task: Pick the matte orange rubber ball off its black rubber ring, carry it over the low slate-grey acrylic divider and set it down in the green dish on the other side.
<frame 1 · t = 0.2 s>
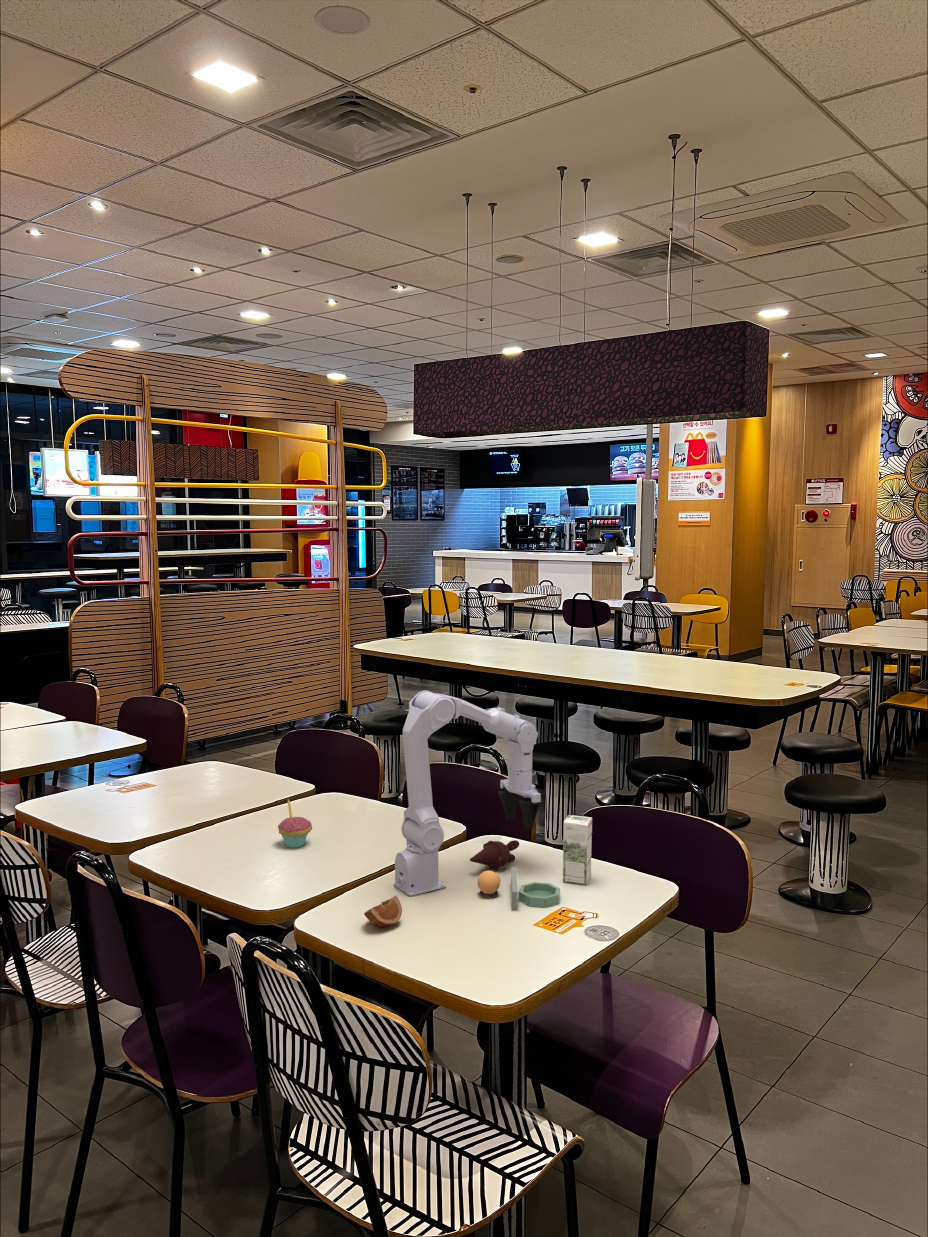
hand: (519, 824, 213), 10 cm above the table, fingers open, 7 cm apart
dish: (539, 899, 193), on the table
syrup box: (577, 880, 204), on the table
cupcake: (295, 845, 227), on the table
ring: (488, 894, 195), on the table
divider: (514, 896, 194), on the table
ball: (488, 882, 195), point 3 cm above the table, touching ring
icecream: (494, 869, 211), on the table
fruit slice: (382, 926, 180), on the table
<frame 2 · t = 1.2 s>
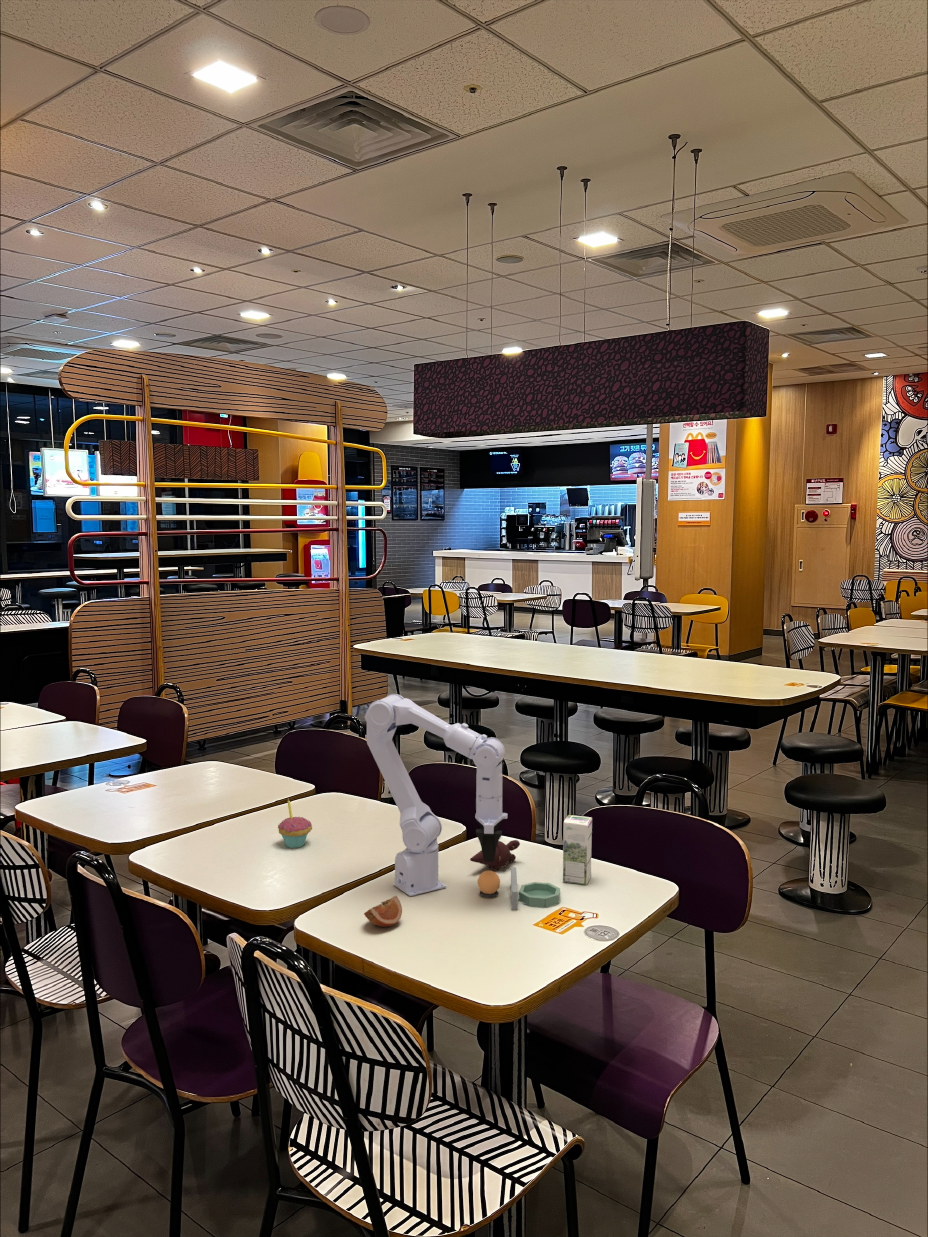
hand: (489, 855, 194), 9 cm above the table, fingers open, 7 cm apart
nothing on the table moved.
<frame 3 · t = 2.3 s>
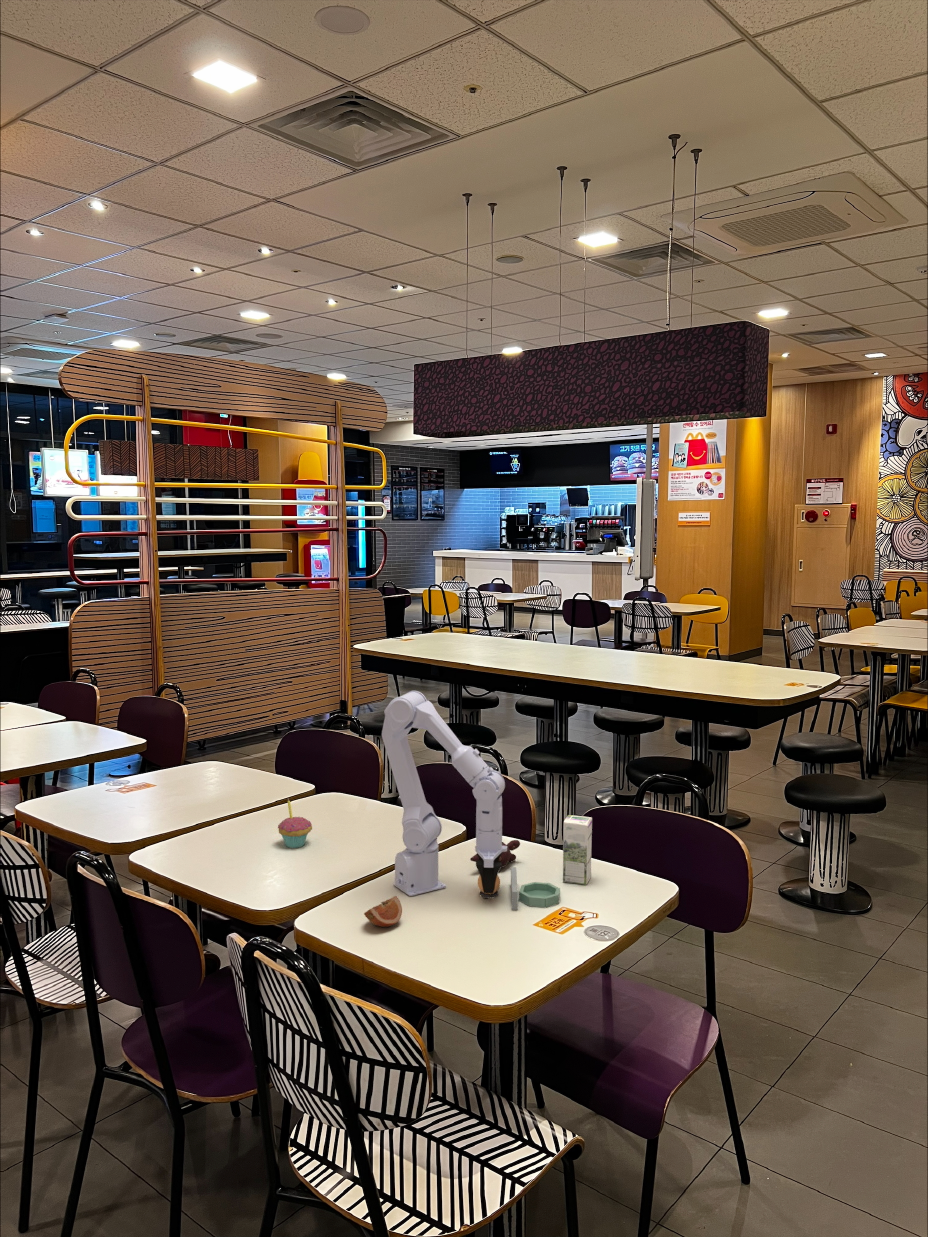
hand: (488, 887, 195), 2 cm above the table, fingers closed on ball, 5 cm apart
ball: (488, 882, 195), point 3 cm above the table, touching gripper, ring
everything else where it was.
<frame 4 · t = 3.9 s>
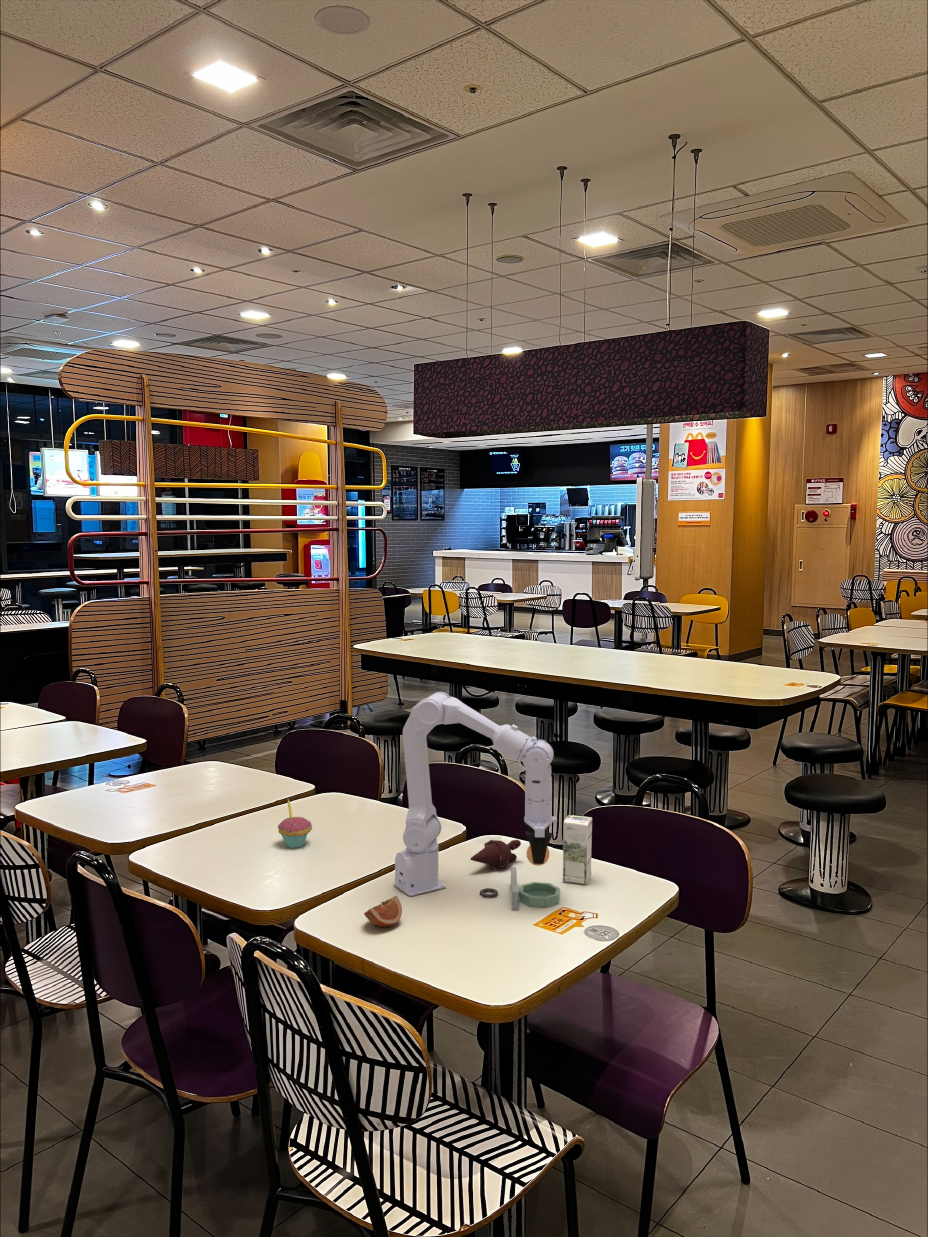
hand: (538, 858, 192), 9 cm above the table, fingers closed on ball, 5 cm apart
ball: (537, 853, 192), point 10 cm above the table, touching gripper
everything else where it was.
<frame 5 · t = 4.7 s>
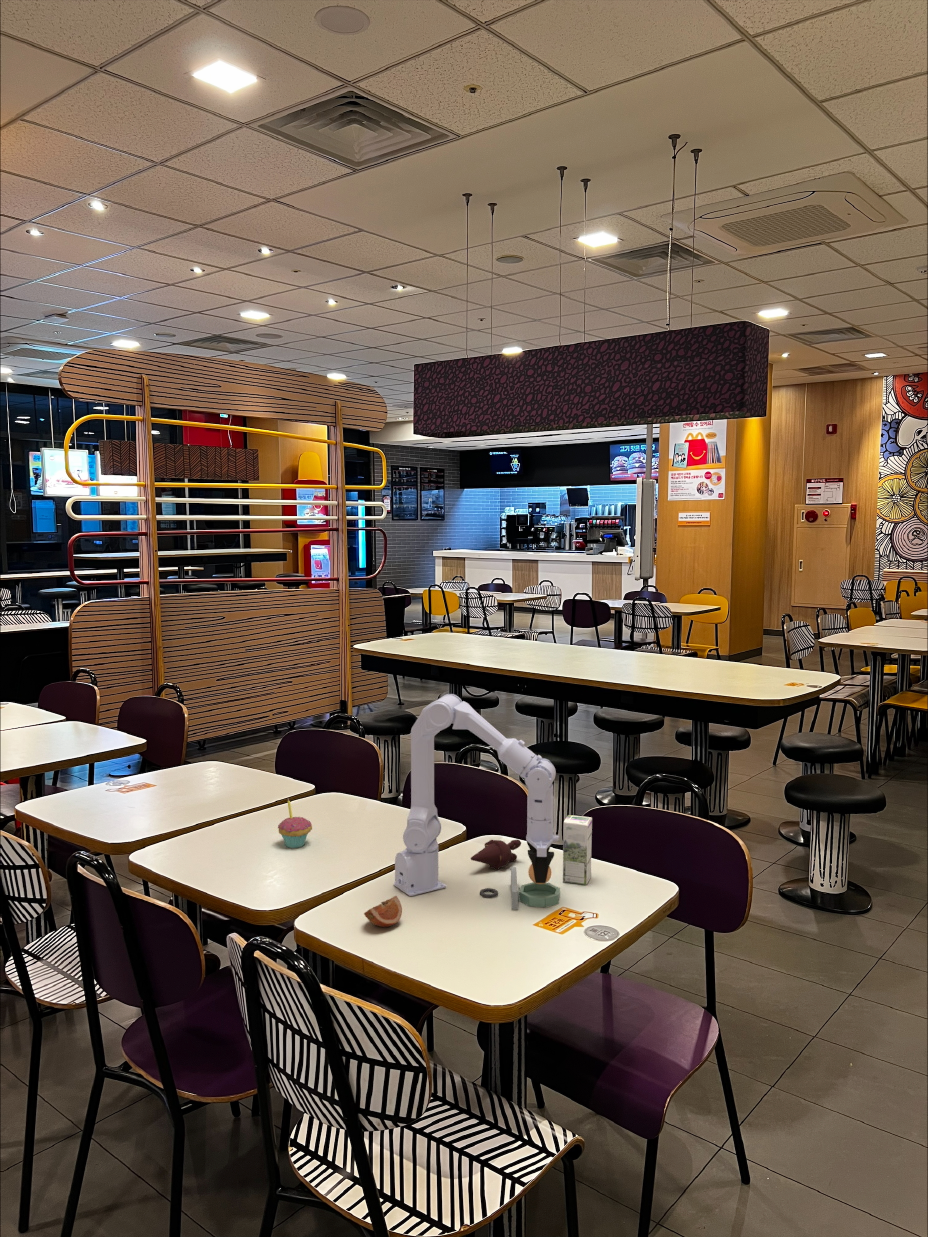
hand: (539, 877, 192), 5 cm above the table, fingers closed on ball, 5 cm apart
ball: (539, 872, 192), point 6 cm above the table, touching gripper
everything else where it was.
when the fingers open (4 cm above the table, at t = 5.5 s): ball drops 2 cm, resting on dish.
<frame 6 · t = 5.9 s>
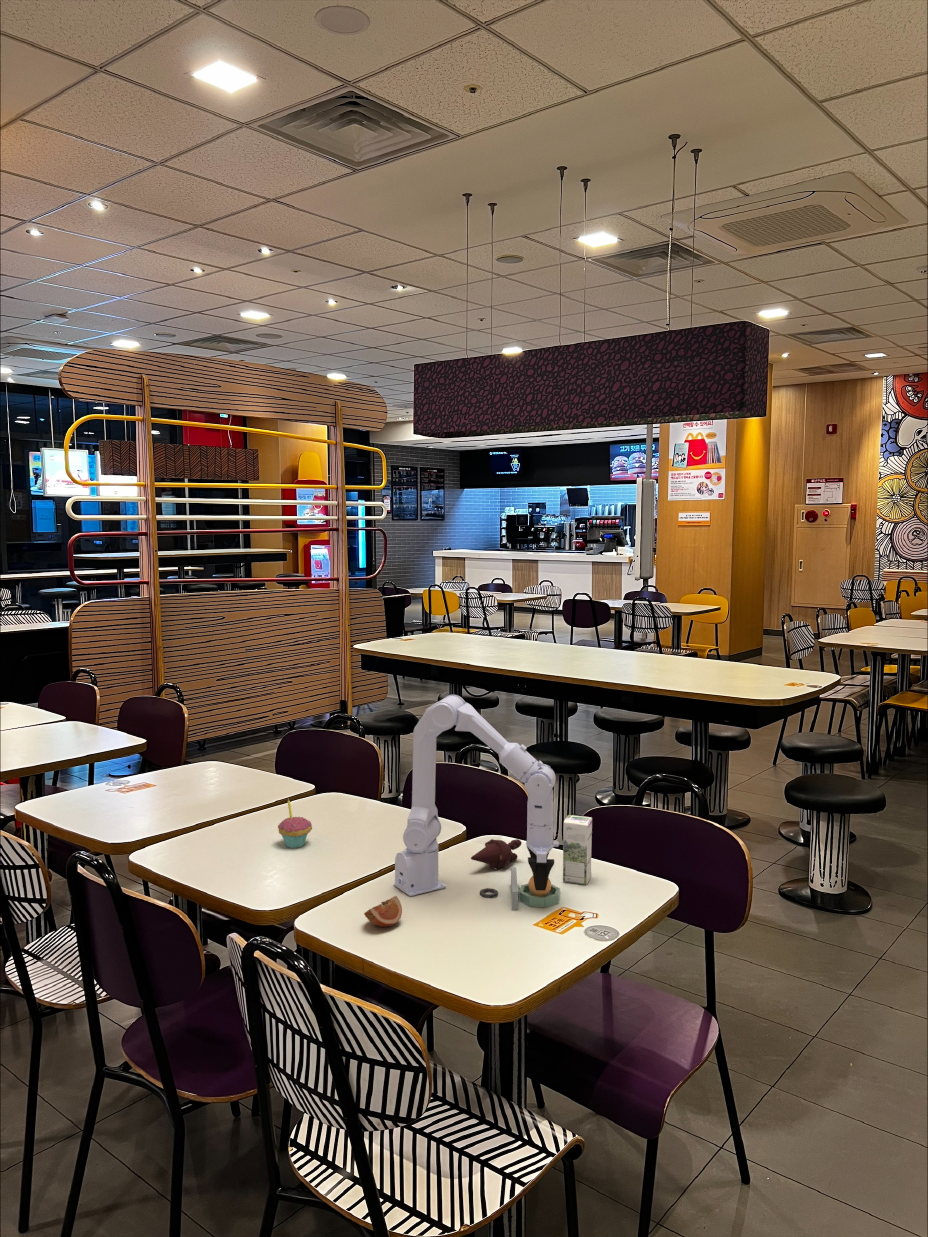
hand: (539, 883, 193), 4 cm above the table, fingers open, 7 cm apart
ball: (539, 885, 193), point 3 cm above the table, touching dish
everything else where it was.
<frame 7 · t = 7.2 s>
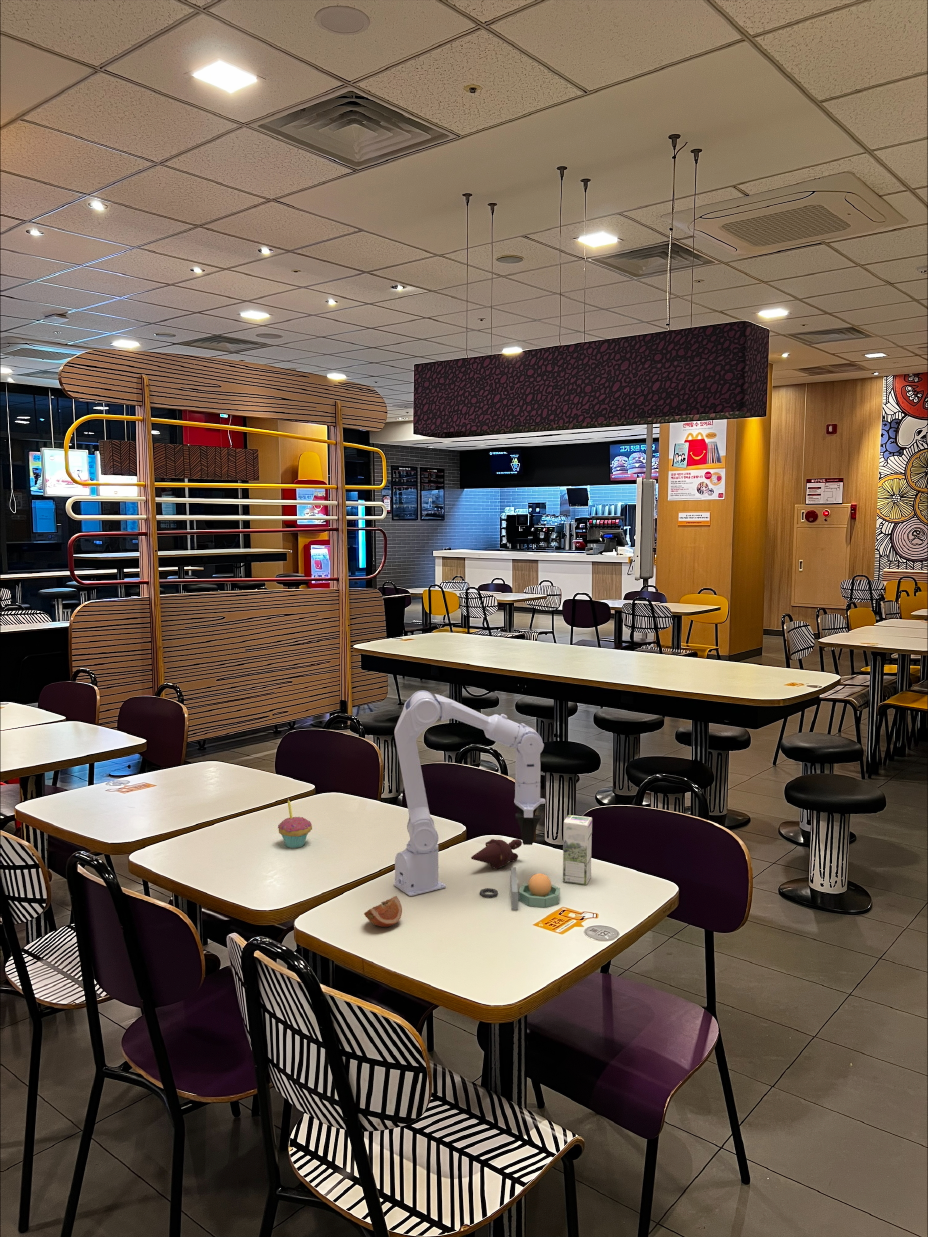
hand: (527, 838, 202), 10 cm above the table, fingers open, 7 cm apart
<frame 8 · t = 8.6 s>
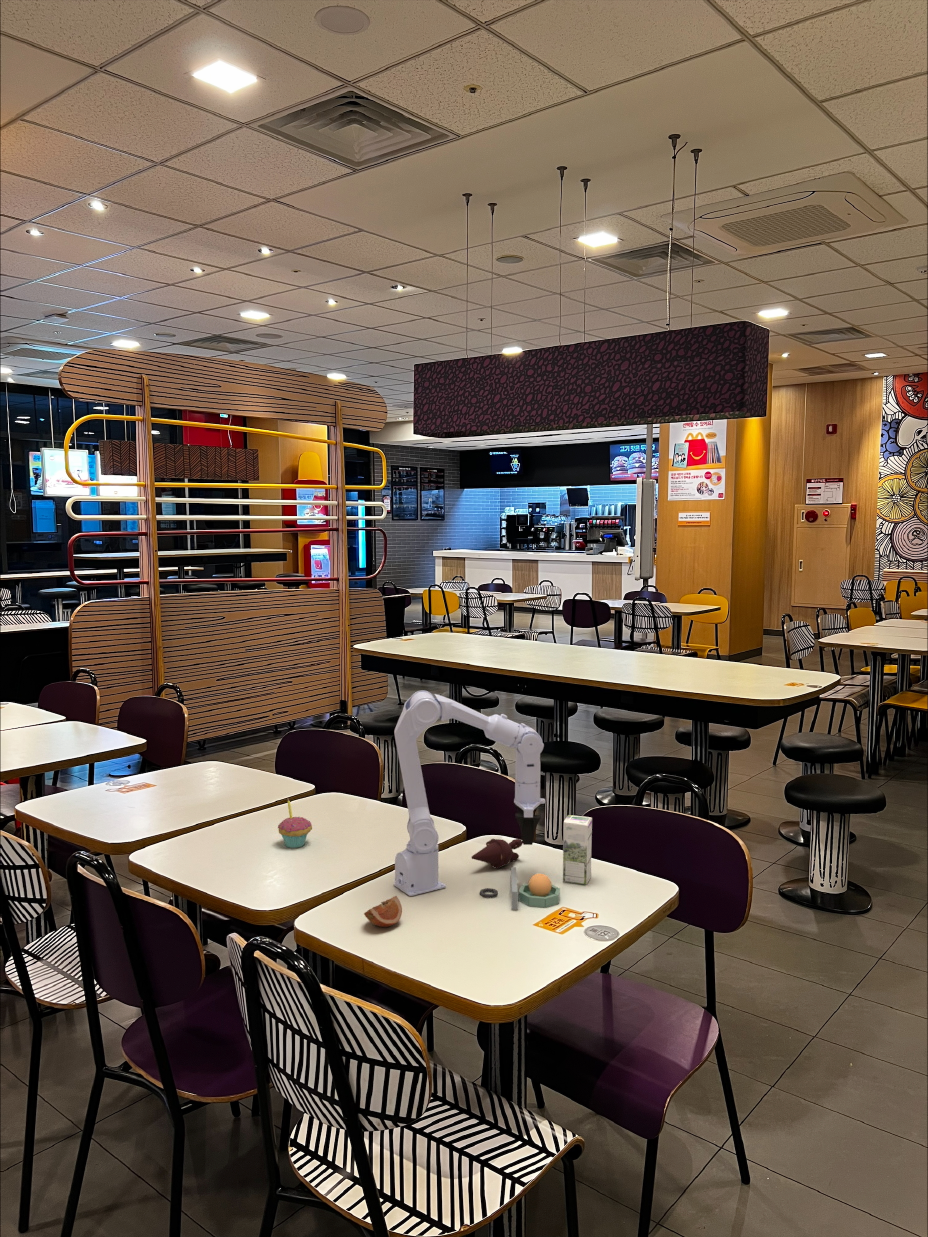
hand: (527, 838, 203), 10 cm above the table, fingers open, 7 cm apart
at the end: ball 0.2 cm from the dish (horizontally); ball point 3.1 cm above the table; the gripper is holding nothing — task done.
